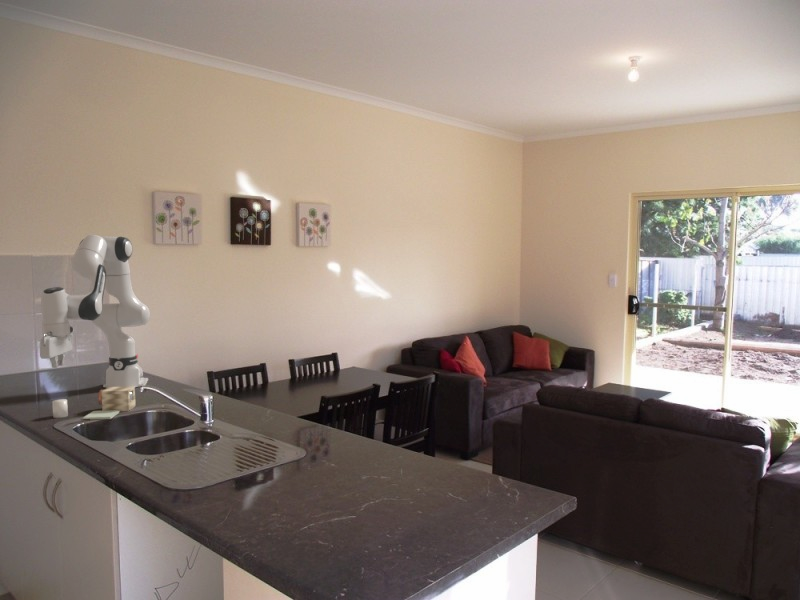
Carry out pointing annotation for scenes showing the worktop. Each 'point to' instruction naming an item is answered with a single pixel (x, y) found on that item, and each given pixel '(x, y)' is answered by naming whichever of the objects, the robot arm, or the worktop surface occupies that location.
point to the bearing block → (118, 398)
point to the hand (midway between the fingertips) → (57, 366)
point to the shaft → (101, 397)
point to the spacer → (60, 408)
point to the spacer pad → (102, 414)
